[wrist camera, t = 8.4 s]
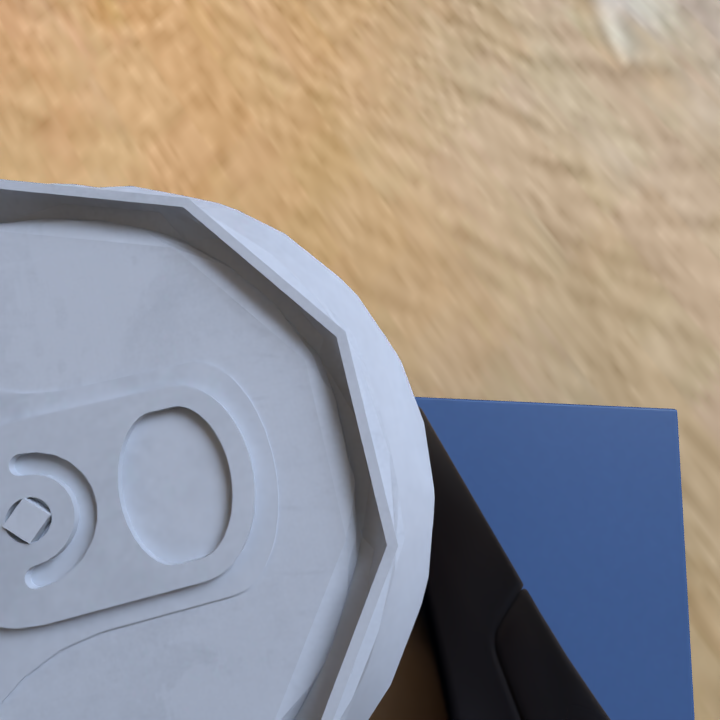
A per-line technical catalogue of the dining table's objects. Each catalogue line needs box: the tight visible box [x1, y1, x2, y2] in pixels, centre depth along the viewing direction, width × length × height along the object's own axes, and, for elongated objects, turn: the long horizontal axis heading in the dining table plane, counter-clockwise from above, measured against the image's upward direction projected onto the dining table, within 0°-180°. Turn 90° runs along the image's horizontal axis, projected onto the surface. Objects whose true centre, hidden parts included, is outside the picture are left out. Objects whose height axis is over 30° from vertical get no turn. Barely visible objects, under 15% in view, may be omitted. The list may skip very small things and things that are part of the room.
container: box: [415, 397, 694, 720], centre depth 19 cm, size 10×12×5 cm
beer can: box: [0, 179, 435, 720], centre depth 9 cm, size 5×5×12 cm
